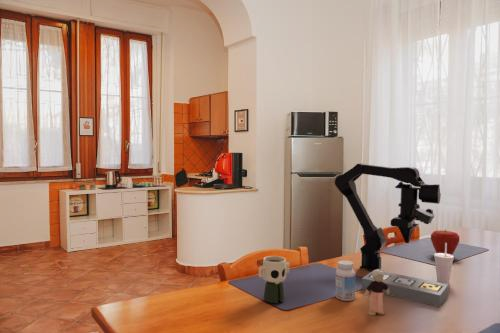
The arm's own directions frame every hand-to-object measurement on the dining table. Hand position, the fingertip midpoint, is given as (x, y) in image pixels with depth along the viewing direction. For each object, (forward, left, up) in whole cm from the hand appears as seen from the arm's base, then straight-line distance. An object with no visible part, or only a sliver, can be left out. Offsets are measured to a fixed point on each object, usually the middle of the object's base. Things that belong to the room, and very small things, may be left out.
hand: (407, 242), depth 146 cm
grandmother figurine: (+4, -41, -12) cm, 43 cm away
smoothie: (+13, -1, -12) cm, 18 cm away
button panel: (+5, -19, -12) cm, 23 cm away
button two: (+5, -19, -11) cm, 22 cm away
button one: (-3, -19, -11) cm, 22 cm away
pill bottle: (-8, -36, -12) cm, 39 cm away
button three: (+13, -19, -11) cm, 25 cm away
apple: (+6, +36, -12) cm, 39 cm away
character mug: (-24, -52, -12) cm, 58 cm away
